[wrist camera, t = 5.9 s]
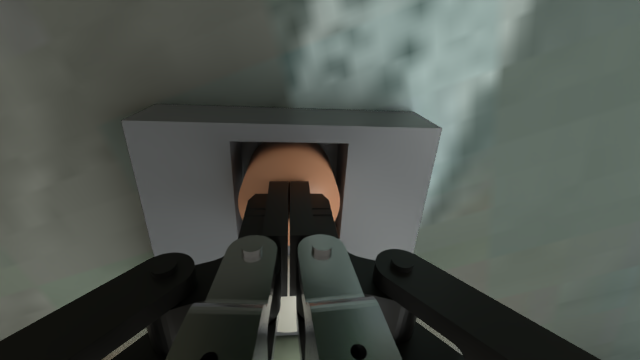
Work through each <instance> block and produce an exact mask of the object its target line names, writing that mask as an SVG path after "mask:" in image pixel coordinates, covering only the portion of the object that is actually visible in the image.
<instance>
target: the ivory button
mask: <svg viewBox="0 0 640 360" xmlns="http://www.w3.org/2000/svg"><path fill="white" fill-rule="evenodd" d="M277 332H284V333H286V332H297V323H296V296H290V255H288V291H287V296H286V297H281V306H280V311H279V313H278V327H277Z"/></svg>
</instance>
